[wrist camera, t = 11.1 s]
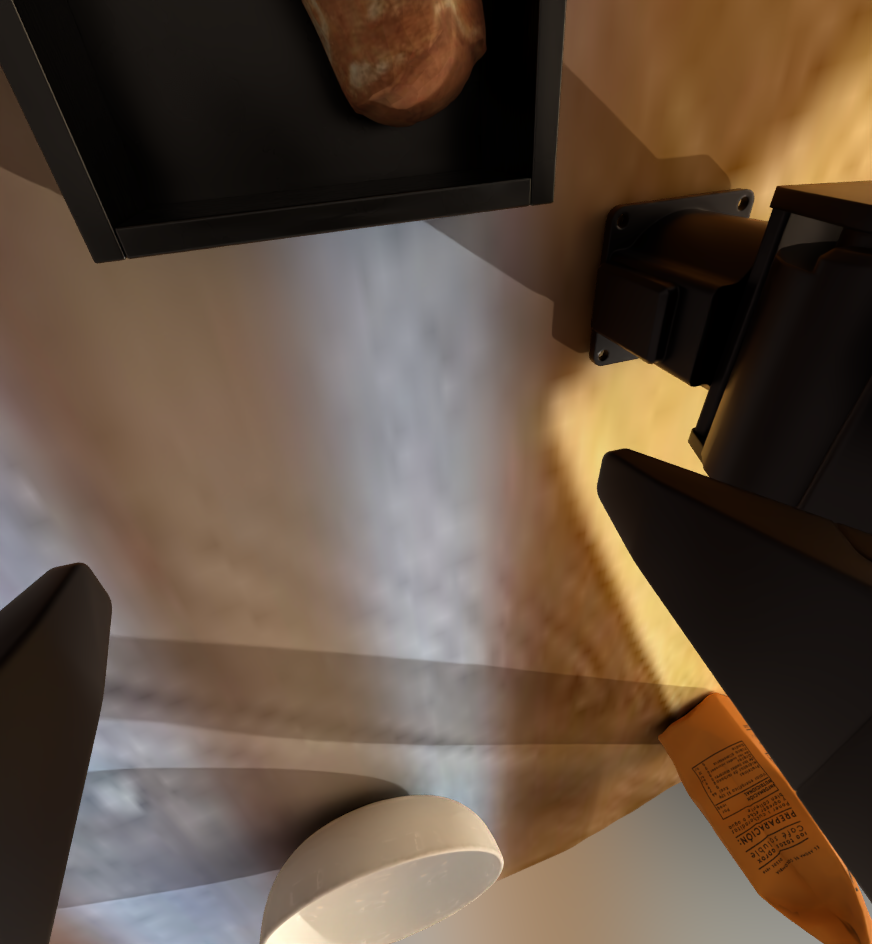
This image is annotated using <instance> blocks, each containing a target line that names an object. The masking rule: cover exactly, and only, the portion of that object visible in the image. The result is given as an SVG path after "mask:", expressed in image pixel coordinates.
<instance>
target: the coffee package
mask: <svg viewBox="0 0 872 944" xmlns="http://www.w3.org/2000/svg"><path fill="white" fill-rule="evenodd" d="M658 739H659V741H660V742H661V744H662V745H663V746H664V748H665V750H666V751H667V753H668V755H669V756H670V758H671V759H672V761H673V763H674V765H675V767H676V769H677V772H678V774H679V777H680V779H681V781H682V783H683V785H684V787H685V789H686V791H687V792H688V794H689V796H690V797H691V799H692V800H693V802H694V803H695V804H696V805H697V807H698V808H699V809H700V811H701V812H702V813H703V815H704V816H705V818H706V819H707V820H708V821H709V823H710V824H711V826H712V827H713V829H714V831H715V832H716V834H717V835H718V837H719V838H720V840H721V841H722V843H723V844H724V845H725V847H726V848H727V850H728V851H729V853H730V854H731V855H732V857H733V858H734V860H735V861H736V862H737V864H738V865H739V867H740V868H741V870H742V871H743V873H744V874H745V876H746V877H747V878H748V880H749V881H750V883H751V884H752V886H753V887H754V888H755V890H756V891H757V893H758V894H759V895H760V896H761V897H762V898H763V899H765V900H766V901H767V902H768V903H769V904H770V905H772V906H773V907H774V908H775V909H777V910H778V911H779V912H781V913H782V914H783V915H784V916H786V917H787V918H788V919H790V920H791V921H792V922H794V923H795V924H797V925H798V926H800V927H801V928H802V929H804V930H805V931H806V932H808V933H809V934H811V935H812V936H814V937H815V938H816V939H818V940H819V941H821V942H822V943H824V944H872V920H871V917H870V915H869V912H868V910H867V908H866V905H865V902H864V899H863V896H862V894H861V892H860V889H859V887H858V885H857V882H856V880H855V878H854V877H853V875H852V874H851V873H850V871H849V870H848V868H847V867H846V865H845V864H844V863H843V861H842V860H841V858H840V857H839V855H838V854H837V853H836V851H835V850H834V848H833V847H832V845H831V844H830V843H829V841H828V840H827V838H826V837H825V835H824V834H823V832H822V831H821V830H820V828H819V827H818V825H817V824H816V822H815V821H814V820H813V818H812V817H811V815H810V814H809V812H808V811H807V810H806V808H805V807H804V805H803V804H802V802H801V801H800V799H799V798H798V797H797V795H796V791H794V790H793V789H792V787H791V786H790V785H789V783H788V782H787V780H786V779H785V777H784V776H783V775H782V773H781V772H780V770H779V769H778V767H777V766H776V764H775V763H774V762H773V760H772V759H771V757H770V756H769V754H768V753H767V752H766V750H765V749H764V747H763V746H762V744H761V743H760V741H759V740H758V739H757V737H756V736H755V734H754V733H753V731H752V730H751V729H750V727H749V726H748V724H747V723H746V721H745V720H744V719H743V717H742V716H741V714H740V713H739V711H738V710H737V708H736V707H735V706H734V704H733V703H732V701H731V700H730V698H729V697H728V696H723V695H721V694H718V693H713V694H711V695H708V696H707V697H706V698H705V699H704V700H703V701H702V702H701V703H699V704H698V705H697V706H696V707H695V708H693V709H692V710H691V711H690V712H689V713H687V714H686V715H685V716H683V717H682V718H681V719H679V720H677V721H675V722H673V723H672V724H671V725H670V726H669V727H668V728H667V729H666V730H665V731H664V732H663V733H662V734H661V735H659V736H658Z"/></svg>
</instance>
